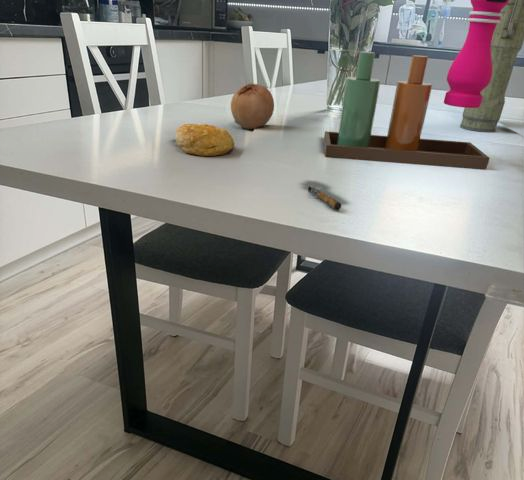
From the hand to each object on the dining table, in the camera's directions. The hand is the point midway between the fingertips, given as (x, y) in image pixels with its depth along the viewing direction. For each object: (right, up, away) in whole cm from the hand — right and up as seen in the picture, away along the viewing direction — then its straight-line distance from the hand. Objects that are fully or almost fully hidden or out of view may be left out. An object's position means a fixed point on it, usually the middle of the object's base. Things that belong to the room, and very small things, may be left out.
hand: (489, 1), depth 77 cm
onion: (-39, -7, +30) cm, 50 cm away
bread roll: (-47, -20, +11) cm, 52 cm away
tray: (-10, -19, +14) cm, 26 cm away
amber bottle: (-10, -19, +14) cm, 26 cm away
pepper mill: (-1, -12, +9) cm, 15 cm away
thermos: (+19, +1, +46) cm, 50 cm away
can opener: (-28, -35, -10) cm, 46 cm away
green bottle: (-19, -18, +14) cm, 30 cm away
